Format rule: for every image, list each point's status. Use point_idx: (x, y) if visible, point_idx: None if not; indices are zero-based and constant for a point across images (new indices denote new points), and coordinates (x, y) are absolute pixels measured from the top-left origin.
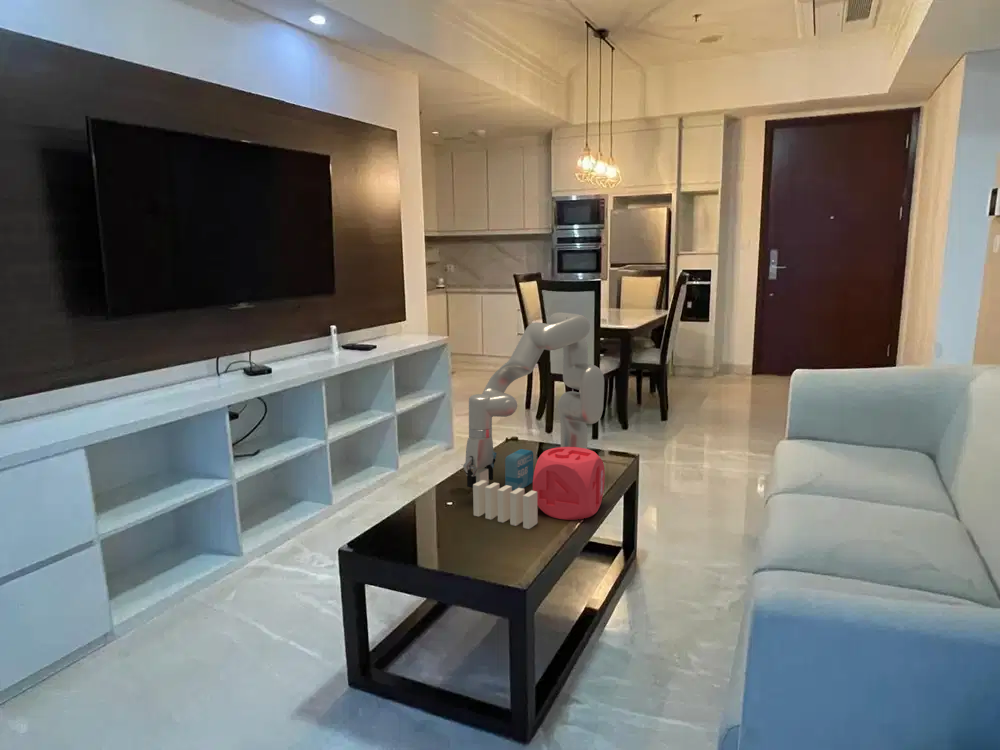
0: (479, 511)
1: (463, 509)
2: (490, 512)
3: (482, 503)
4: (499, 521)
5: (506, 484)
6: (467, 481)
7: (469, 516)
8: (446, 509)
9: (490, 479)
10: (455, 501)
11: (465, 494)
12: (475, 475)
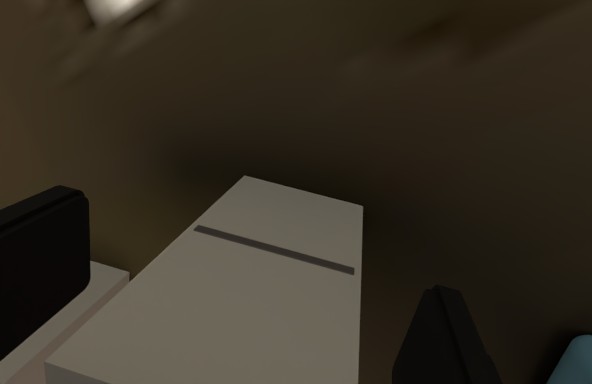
0: None
1: (77, 151)
2: None
3: None
4: None
5: (579, 376)
6: (6, 213)
7: None
8: (11, 26)
9: (396, 363)
10: (176, 14)
11: (368, 23)
12: (95, 327)
